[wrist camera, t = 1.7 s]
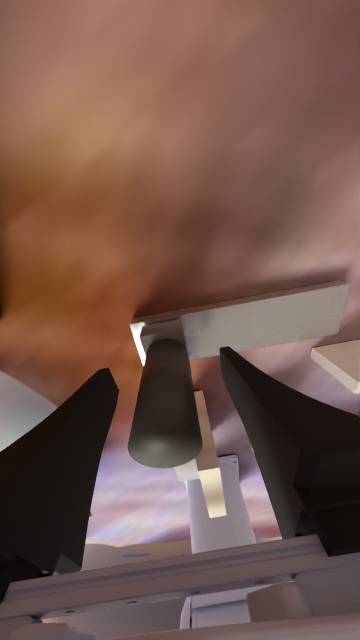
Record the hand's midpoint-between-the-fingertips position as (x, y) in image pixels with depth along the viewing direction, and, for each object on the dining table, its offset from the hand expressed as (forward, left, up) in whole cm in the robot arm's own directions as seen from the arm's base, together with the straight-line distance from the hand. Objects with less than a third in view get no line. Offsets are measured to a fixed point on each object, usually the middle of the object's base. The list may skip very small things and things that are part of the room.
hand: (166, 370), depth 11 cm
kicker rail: (0, -6, -4) cm, 8 cm away
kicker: (-7, 0, -4) cm, 8 cm away
